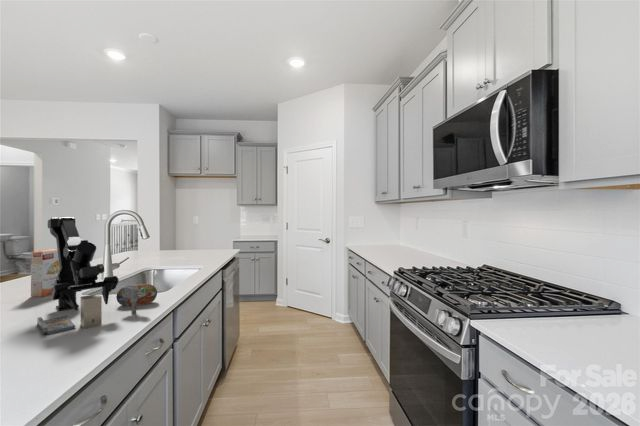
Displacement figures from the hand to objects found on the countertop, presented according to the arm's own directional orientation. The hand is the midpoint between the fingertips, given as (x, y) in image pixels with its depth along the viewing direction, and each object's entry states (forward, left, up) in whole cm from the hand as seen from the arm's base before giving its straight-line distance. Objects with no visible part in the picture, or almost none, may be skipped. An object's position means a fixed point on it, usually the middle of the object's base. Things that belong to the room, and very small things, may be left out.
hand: (92, 306), depth 108 cm
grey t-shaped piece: (-4, +14, -7) cm, 17 cm away
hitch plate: (-8, -9, -7) cm, 14 cm away
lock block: (-1, 0, -7) cm, 7 cm away
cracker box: (-64, -3, -7) cm, 65 cm away
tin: (-15, +19, -7) cm, 26 cm away
